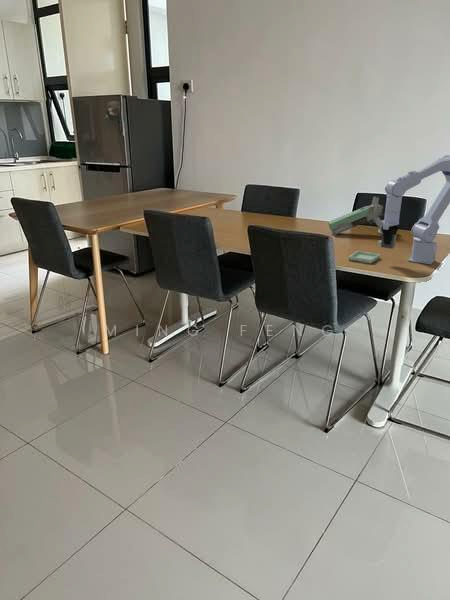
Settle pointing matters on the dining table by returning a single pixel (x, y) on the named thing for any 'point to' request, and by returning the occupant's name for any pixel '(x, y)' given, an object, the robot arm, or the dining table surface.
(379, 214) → the long mint green beam
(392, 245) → the plug
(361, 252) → the tray
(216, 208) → the dining table surface
